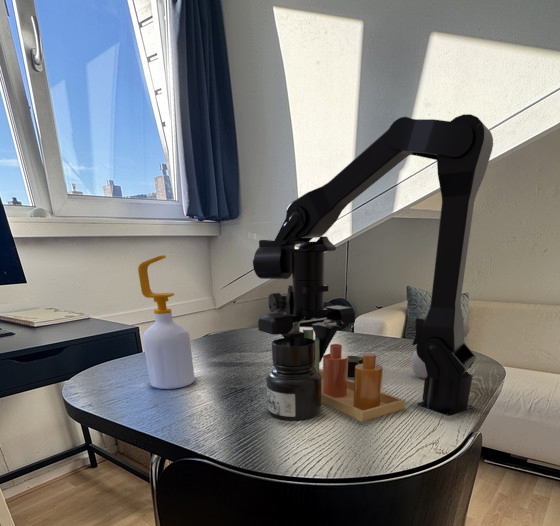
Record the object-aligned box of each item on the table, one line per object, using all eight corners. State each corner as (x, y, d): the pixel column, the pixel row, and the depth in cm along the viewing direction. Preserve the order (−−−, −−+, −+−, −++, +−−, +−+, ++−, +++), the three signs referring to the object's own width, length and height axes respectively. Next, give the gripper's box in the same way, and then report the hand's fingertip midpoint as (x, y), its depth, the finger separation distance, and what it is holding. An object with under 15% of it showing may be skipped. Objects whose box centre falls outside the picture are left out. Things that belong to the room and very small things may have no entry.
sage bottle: (323, 375, 81) (324, 329, 77) (305, 379, 79) (305, 332, 75) (310, 370, 84) (310, 326, 80) (292, 374, 82) (292, 328, 78)
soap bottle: (189, 389, 82) (172, 255, 72) (144, 390, 82) (121, 257, 72) (198, 376, 90) (184, 254, 80) (157, 377, 90) (138, 255, 80)
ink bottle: (260, 407, 71) (256, 338, 66) (306, 400, 74) (306, 333, 69) (280, 428, 63) (277, 351, 58) (331, 419, 66) (333, 344, 61)
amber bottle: (385, 408, 68) (389, 355, 64) (365, 414, 66) (368, 359, 62) (367, 401, 71) (370, 349, 68) (347, 406, 69) (349, 353, 66)
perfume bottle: (409, 372, 88) (415, 314, 83) (458, 374, 85) (467, 315, 80) (409, 382, 82) (415, 321, 77) (461, 385, 79) (472, 322, 74)
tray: (404, 411, 68) (405, 400, 67) (362, 424, 64) (362, 412, 63) (314, 376, 88) (314, 366, 87) (277, 384, 83) (277, 374, 82)
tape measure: (362, 370, 90) (363, 353, 89) (367, 379, 84) (368, 361, 83) (331, 370, 91) (332, 354, 89) (334, 380, 85) (334, 362, 83)
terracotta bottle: (351, 394, 75) (354, 345, 71) (332, 399, 73) (333, 349, 69) (336, 388, 78) (337, 341, 74) (317, 393, 76) (318, 344, 72)
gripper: (322, 274, 84) (321, 349, 91) (241, 281, 76) (247, 363, 82) (359, 276, 76) (355, 359, 82) (272, 284, 67) (275, 376, 74)
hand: (308, 364), depth 80 cm, fingers closed on sage bottle, 4 cm apart
